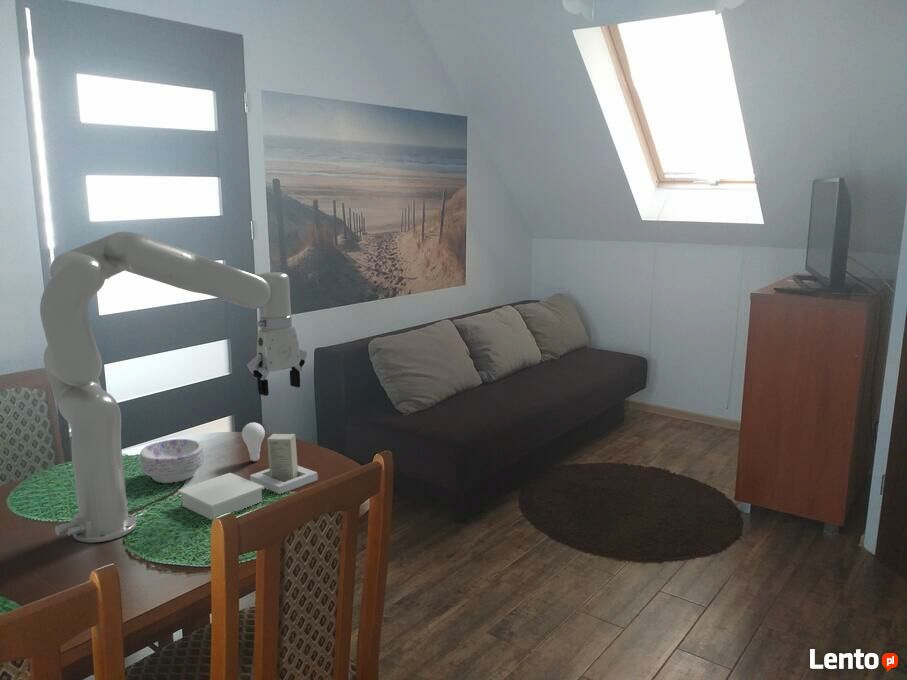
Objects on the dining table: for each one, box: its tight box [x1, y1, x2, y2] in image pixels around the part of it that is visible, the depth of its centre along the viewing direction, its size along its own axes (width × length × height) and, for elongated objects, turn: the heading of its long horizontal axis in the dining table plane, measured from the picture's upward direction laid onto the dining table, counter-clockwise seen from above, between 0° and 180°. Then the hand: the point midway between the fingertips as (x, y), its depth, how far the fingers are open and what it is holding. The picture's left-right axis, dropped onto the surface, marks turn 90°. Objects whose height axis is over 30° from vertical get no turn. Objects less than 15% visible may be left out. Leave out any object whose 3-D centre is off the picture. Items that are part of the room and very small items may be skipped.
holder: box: [249, 465, 319, 495], centre depth 184 cm, size 12×12×2 cm
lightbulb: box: [241, 422, 266, 462], centre depth 197 cm, size 6×6×11 cm
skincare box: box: [266, 433, 299, 482], centre depth 183 cm, size 6×4×12 cm
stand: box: [177, 472, 265, 521], centre depth 170 cm, size 14×14×4 cm
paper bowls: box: [139, 438, 205, 484], centre depth 187 cm, size 15×15×8 cm
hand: (279, 390), depth 180 cm, fingers open, 9 cm apart
